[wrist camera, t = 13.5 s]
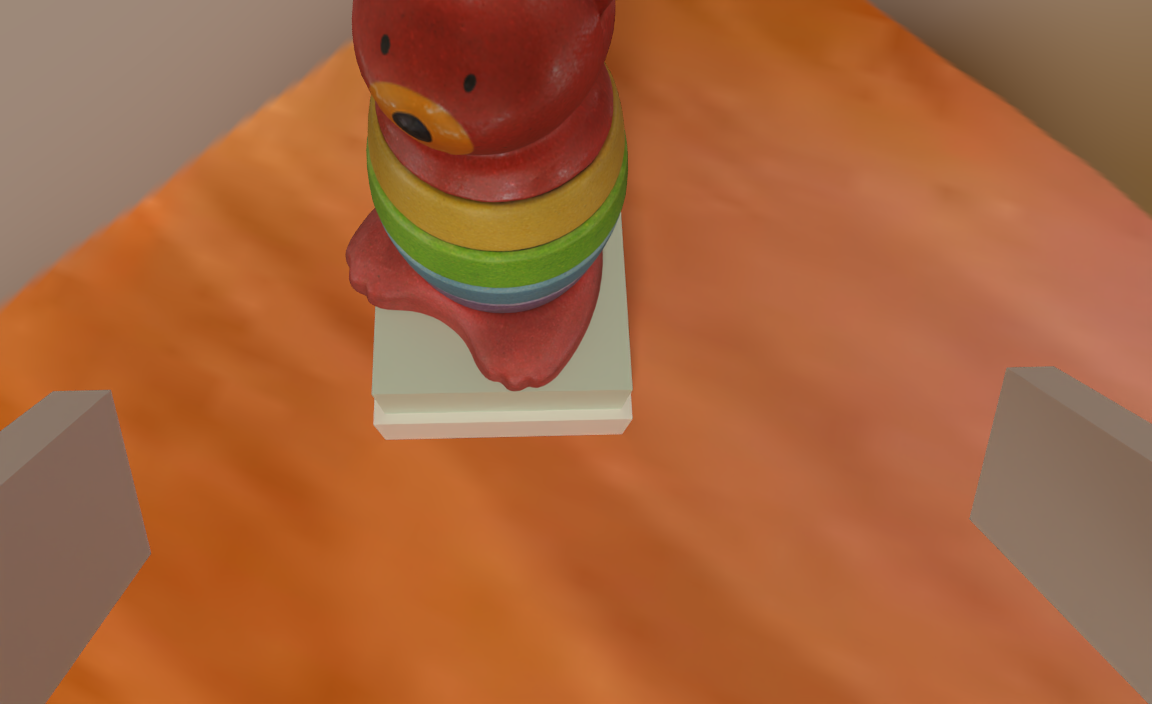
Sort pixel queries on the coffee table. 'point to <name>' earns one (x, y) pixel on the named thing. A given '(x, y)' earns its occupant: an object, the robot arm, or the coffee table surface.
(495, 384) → the tower base
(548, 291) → the stacking bear
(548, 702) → the coffee table surface
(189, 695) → the coffee table surface
